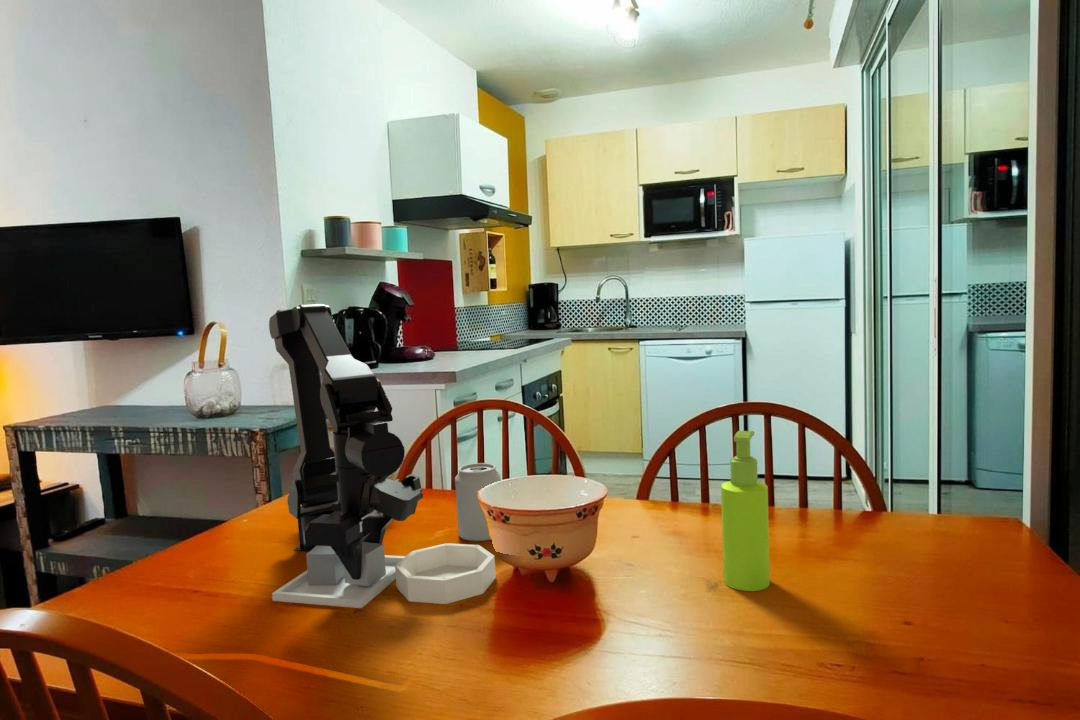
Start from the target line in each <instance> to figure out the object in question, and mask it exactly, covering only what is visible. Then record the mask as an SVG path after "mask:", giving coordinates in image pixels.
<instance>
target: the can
mask: <svg viewBox="0 0 1080 720" xmlns="http://www.w3.org/2000/svg"><path fill="white" fill-rule="evenodd" d="M496 468H497V465H495V464H492V463H487V462H486V463H485V462H478V463H469V464H464V465H462V466H460V467H459V468H458V469H457V471H458V473H457V474H456V476H455V477H454V485H455V499H456V500H455V502H456V503H455V504H456V514H457V515H456V518H457V519H456V520H457V531H458V534H457V535H458V536H459V537H460V538H461V539H463V540H465V541H468V542H475V543H476V542H477V543H479V542H487V541H491V540H490V536H489V531H488V527H487V521H486V518H485V515H484V512H483V510H482V508H481V506H480V504H479V501H478V497H477V491H478V490H479V489H481V488H484V487H485V486H487V485H489V484H492V483H494V482H497V481H501V474H500V473H499V471H497V470H496ZM501 482H502V481H501Z"/></svg>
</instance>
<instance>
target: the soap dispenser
mask: <svg viewBox="0 0 1080 720" xmlns="http://www.w3.org/2000/svg"><path fill="white" fill-rule="evenodd" d="M753 436H755V431H754V430H737V432H736V433H735V434H734V437H733V442H735V444H736V445H735V446H736V455H735V456H734V457H731V458H730V460H729V464H730V465H729V466H730V468H729V470H730V480H729V481H728V480H727V481H725V482H723V483H722V484H721V485H720V492H721V493H720V494H721V496H720V497H721V520H722V521H721V526H722V527H721V529H722V530H721V531H722V532H721V535H722V564H723V565H722V567H723V569H722V570H723V573H722V574H723V583H724V584H725V585H726V586H727V587H729V588H731V589H733V590H738V591H744V592H758V591H762V590H766V589H767V588H769V587H770V585H771V583H770V582H771V581H770V580H771V578H770V577H771V576H770V575H771V574H770V537H769V536H770V534H769V533H770V531H769V530H770V529H769V526H770V524H769V522H770V521H769V491H768V490H769V488H768V485H767V484H765V483H764V482H760V481H759V480H758V460H757V459H756V458H755V457H753V456H751V440H752V437H753Z"/></svg>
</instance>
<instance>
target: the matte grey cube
mask: <svg viewBox="0 0 1080 720" xmlns="http://www.w3.org/2000/svg"><path fill="white" fill-rule="evenodd" d="M305 557H306V568H307V570H308V582H309V586H321V585H337V584H338V583H339V582H340V581H341V580H342V579H343V578H344V566H343V563H342V562H341V560H340V559H339V557H338V556H337V554H336V553H335V552H334V550H333V549H332V548H331V547H330V546H318V545H317V546H316V547H314V548H313V549H312V550H311V551H310V552H307V553H306V554H305Z"/></svg>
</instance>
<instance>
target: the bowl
mask: <svg viewBox="0 0 1080 720" xmlns="http://www.w3.org/2000/svg"><path fill="white" fill-rule="evenodd" d="M495 559H496V557H495V555H494V554H492V553H491V552H490V551H488V550H487V549H485V548H484V547H483V546H481V545H480V544H466V543H449V542H447V543H442V544H437V545H433V546H428V547H424V548H420V549H416V550H412V551H410V552H409V553H408V554H407V555H406V557H404V558H403V559H402V560H401V561H400V562H398V563H397V564H396V565H395V572H396V579H395V581H396V582H395V583H396V589H397V590H398V591H399V592H400V593H401V594H402V595H403V596H404V597H405V599H406V600H407V601H408V602H413V603H426V604H427V603H430V604H437V605H438V604H440V605H447V604H451V603H454V602H459V601H461V600H465V599H469V598H473V597H476V596H480V595H484V594H485V592H486V591H487V589H488V588H489V587H490V586H491V584H493V582H494V581H495V580H496V579H497V577H496V576H497V575H496V560H495Z"/></svg>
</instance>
